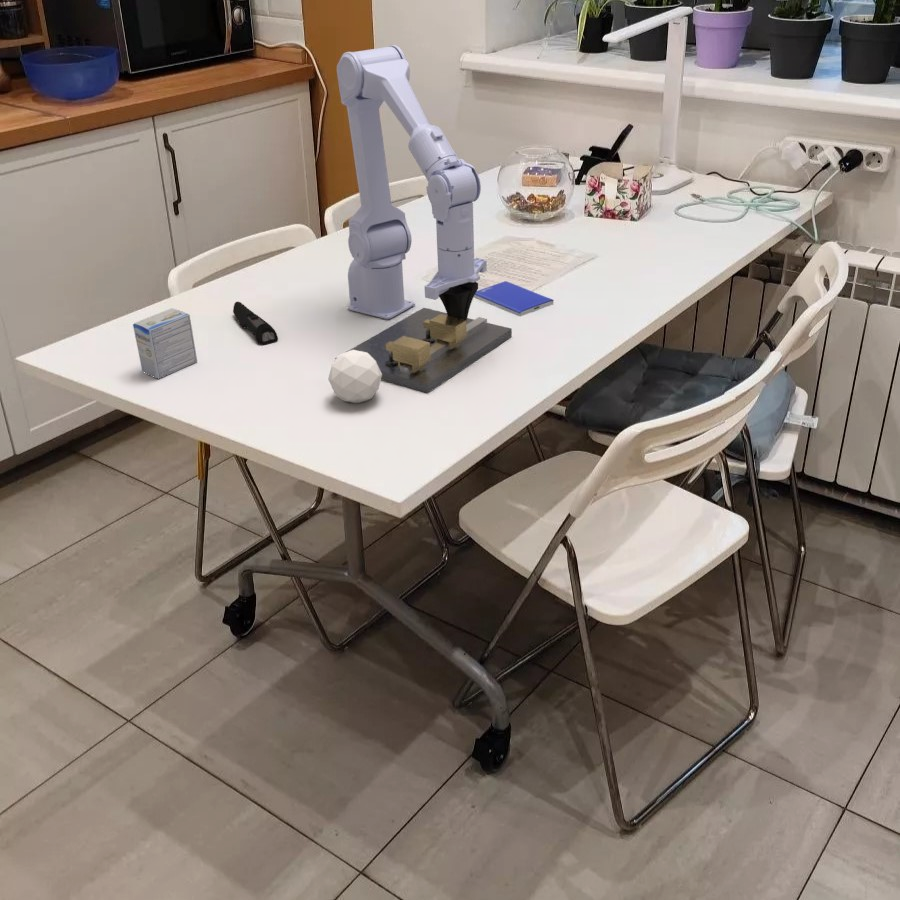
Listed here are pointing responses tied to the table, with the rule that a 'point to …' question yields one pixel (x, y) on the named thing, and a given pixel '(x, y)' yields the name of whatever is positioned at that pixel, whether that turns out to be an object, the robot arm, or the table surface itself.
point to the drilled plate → (438, 364)
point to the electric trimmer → (255, 324)
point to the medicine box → (165, 342)
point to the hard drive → (513, 298)
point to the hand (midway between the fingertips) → (458, 326)
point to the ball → (355, 376)
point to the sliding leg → (446, 329)
